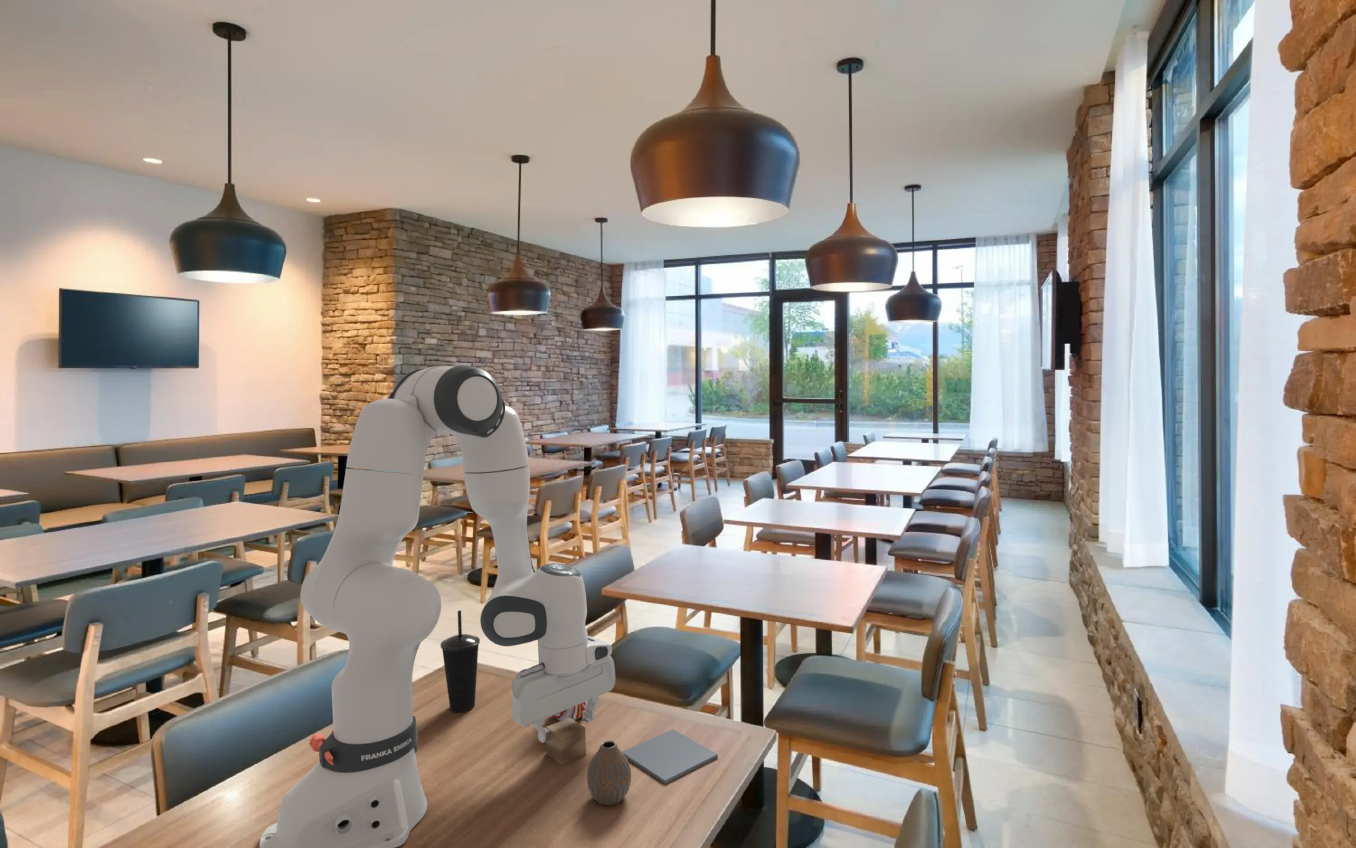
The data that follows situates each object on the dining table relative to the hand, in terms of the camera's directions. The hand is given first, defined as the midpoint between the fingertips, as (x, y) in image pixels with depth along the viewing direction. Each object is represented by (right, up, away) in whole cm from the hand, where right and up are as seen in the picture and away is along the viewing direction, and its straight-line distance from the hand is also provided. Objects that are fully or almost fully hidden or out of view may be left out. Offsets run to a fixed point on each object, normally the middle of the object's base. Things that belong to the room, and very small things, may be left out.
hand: (566, 730), depth 124 cm
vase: (+9, -5, -15) cm, 18 cm away
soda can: (-2, -3, +13) cm, 14 cm away
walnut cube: (0, -4, -1) cm, 4 cm away
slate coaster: (+18, -4, -2) cm, 19 cm away
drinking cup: (-24, -3, +17) cm, 30 cm away
